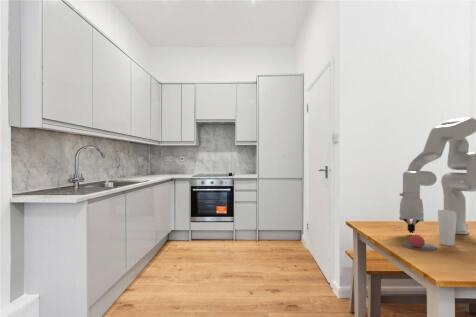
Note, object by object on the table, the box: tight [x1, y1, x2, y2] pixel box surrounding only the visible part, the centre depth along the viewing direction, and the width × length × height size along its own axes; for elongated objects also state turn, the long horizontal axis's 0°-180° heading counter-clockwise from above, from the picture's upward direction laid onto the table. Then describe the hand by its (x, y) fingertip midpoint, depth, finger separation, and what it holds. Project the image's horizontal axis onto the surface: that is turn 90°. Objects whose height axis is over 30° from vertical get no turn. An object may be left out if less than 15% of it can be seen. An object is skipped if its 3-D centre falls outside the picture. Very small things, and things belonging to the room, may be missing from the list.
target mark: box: [401, 241, 438, 252], centre depth 129 cm, size 13×13×1 cm
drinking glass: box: [437, 209, 457, 247], centre depth 132 cm, size 7×7×15 cm
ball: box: [409, 234, 426, 248], centre depth 127 cm, size 6×6×6 cm
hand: (411, 232), depth 150 cm, fingers closed
